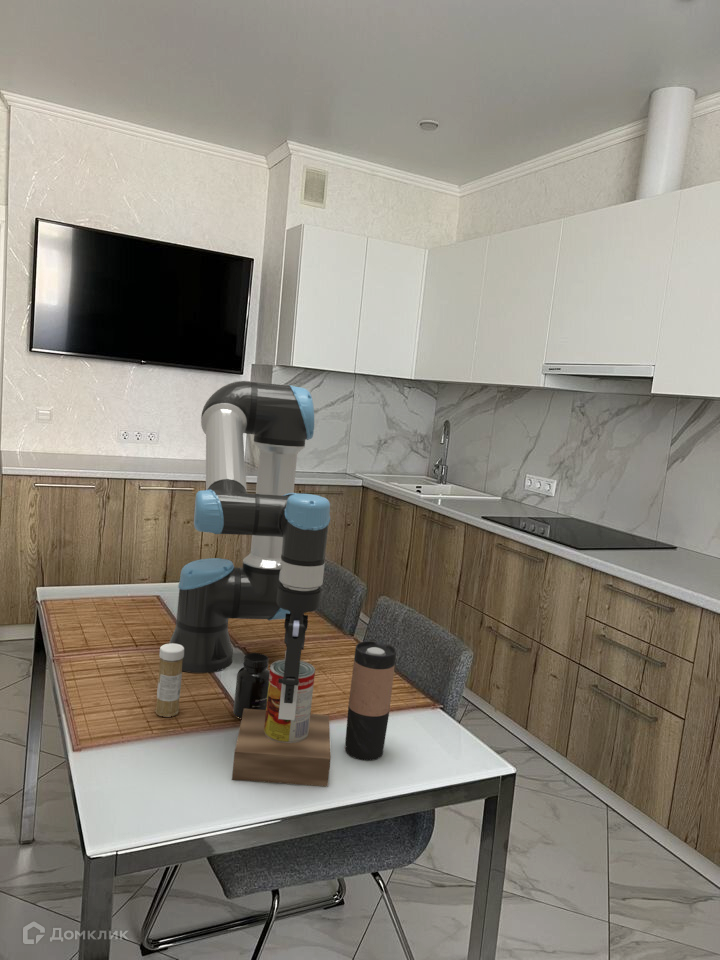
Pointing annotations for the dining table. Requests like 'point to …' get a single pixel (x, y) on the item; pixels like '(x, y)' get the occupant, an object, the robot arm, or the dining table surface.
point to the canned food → (300, 726)
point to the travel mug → (369, 700)
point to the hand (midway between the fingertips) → (287, 700)
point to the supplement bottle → (252, 684)
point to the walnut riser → (282, 753)
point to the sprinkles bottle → (169, 679)
